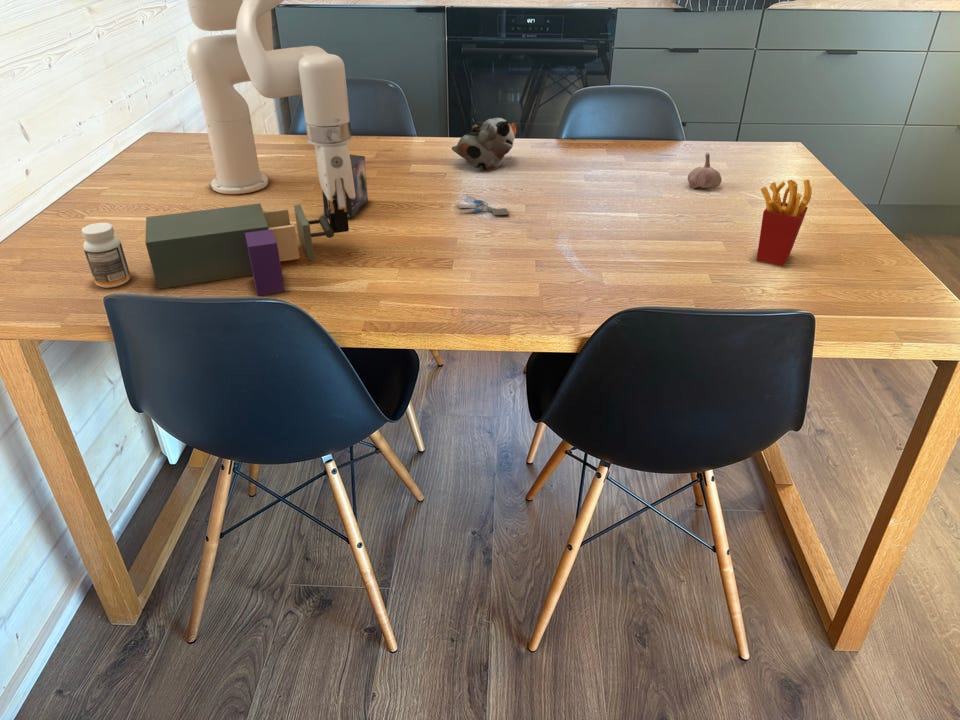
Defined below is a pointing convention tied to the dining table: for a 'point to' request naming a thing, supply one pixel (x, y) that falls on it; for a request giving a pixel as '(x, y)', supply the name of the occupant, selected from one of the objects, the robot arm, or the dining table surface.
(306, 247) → the drawer
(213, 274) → the cabinet
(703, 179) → the garlic bulb
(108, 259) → the pill bottle
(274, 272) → the snack carton
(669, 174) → the dining table surface
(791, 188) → the french fries
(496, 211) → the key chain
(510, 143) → the lucky cat figurine
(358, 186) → the small box
